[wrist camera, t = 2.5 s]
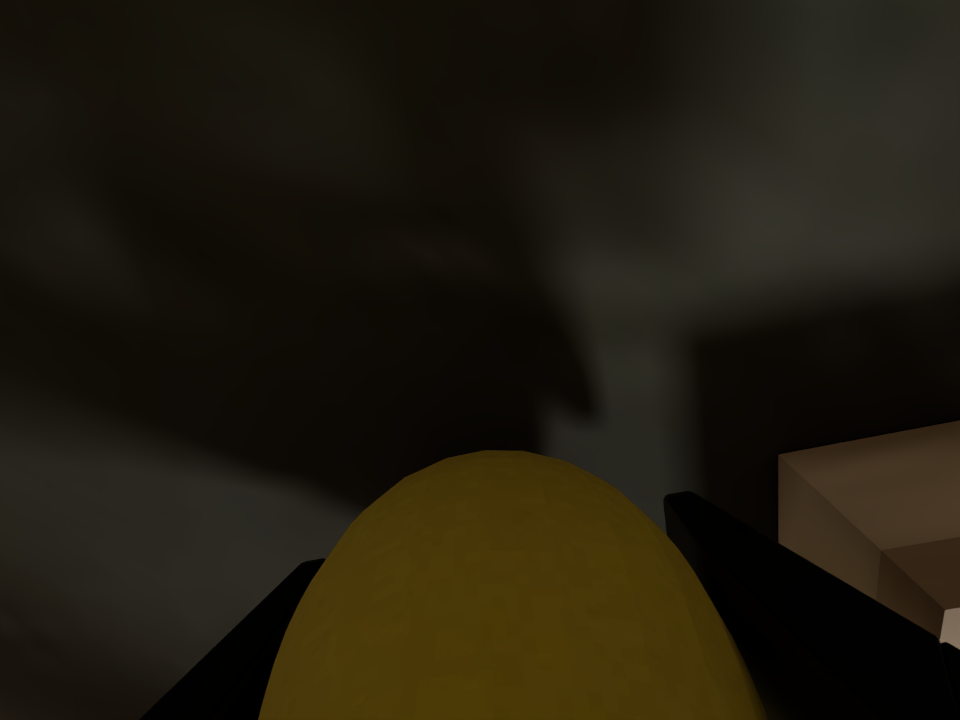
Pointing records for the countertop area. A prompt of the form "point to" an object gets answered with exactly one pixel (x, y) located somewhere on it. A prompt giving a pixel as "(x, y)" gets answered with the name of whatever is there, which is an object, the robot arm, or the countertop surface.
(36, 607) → the countertop surface
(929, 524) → the square tray
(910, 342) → the countertop surface
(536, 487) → the lemon
